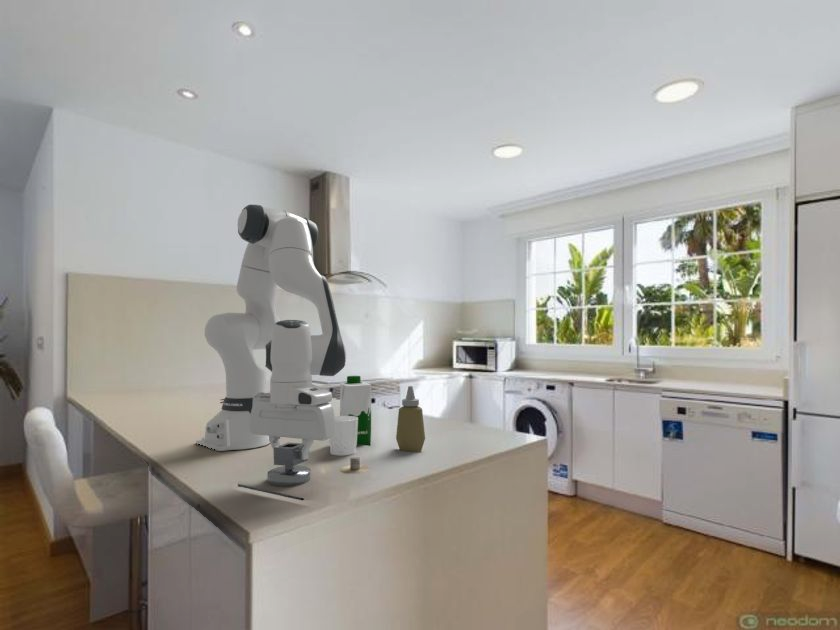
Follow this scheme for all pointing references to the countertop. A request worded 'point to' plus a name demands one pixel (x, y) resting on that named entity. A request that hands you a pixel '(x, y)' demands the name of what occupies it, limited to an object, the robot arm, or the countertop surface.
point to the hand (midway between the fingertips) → (290, 457)
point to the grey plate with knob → (285, 478)
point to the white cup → (344, 436)
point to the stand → (355, 467)
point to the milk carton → (357, 406)
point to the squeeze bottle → (410, 424)
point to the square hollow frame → (288, 454)
